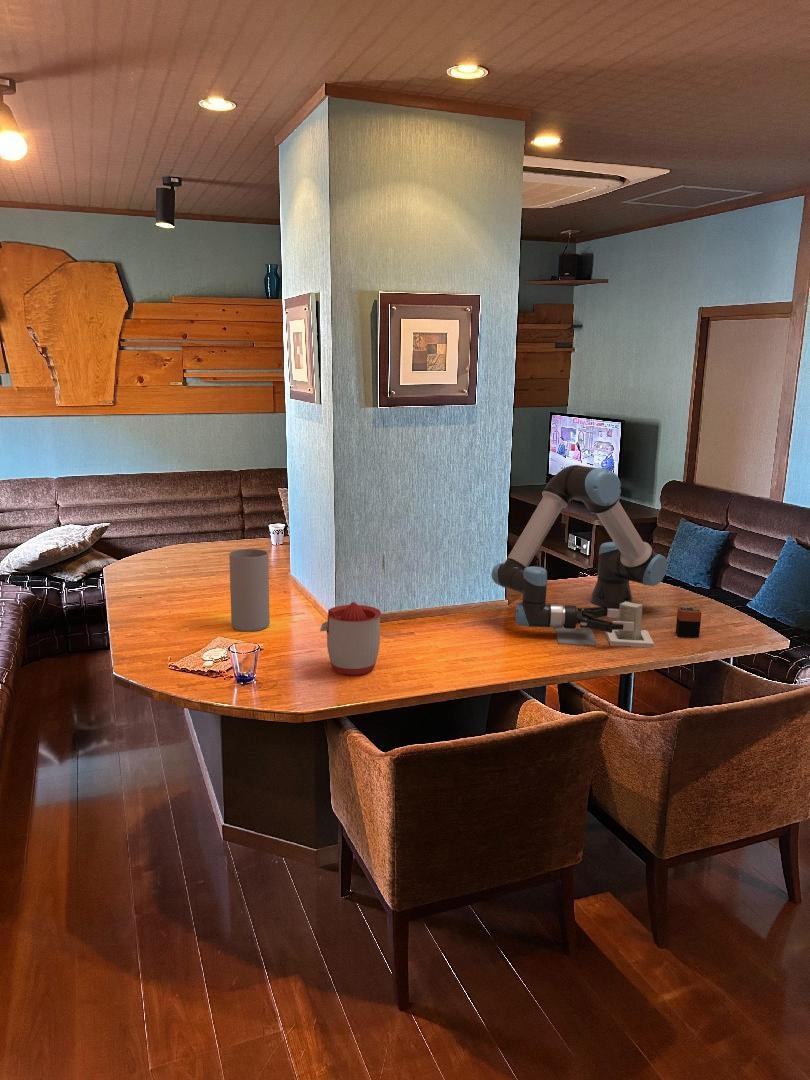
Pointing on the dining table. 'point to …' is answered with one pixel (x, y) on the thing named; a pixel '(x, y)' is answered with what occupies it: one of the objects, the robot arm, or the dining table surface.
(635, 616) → the skincare box
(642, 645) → the white square frame
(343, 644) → the citrus juicer
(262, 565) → the cylinder vase
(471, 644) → the dining table surface
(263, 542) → the dining table surface
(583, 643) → the grey mat
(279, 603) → the dining table surface
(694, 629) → the battery
